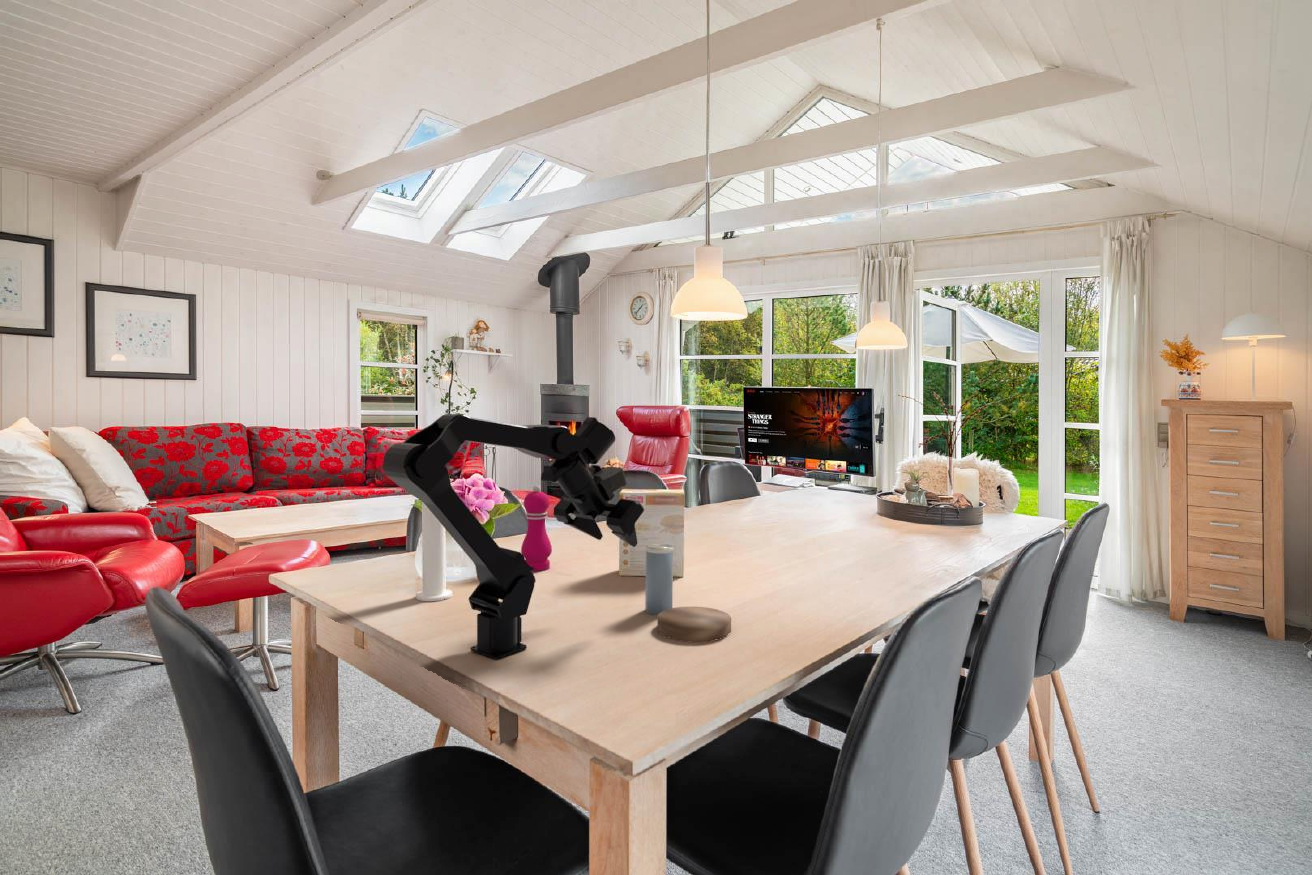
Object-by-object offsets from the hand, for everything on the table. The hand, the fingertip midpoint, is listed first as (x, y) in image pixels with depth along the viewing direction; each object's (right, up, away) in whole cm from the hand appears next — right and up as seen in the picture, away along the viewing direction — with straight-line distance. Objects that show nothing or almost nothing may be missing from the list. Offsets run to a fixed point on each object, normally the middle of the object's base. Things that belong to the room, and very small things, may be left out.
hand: (617, 541), depth 132 cm
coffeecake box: (+6, -13, +33) cm, 36 cm away
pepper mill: (-21, -12, +36) cm, 44 cm away
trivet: (+14, -15, -7) cm, 22 cm away
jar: (+8, -14, +3) cm, 16 cm away
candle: (-38, -13, +11) cm, 42 cm away
